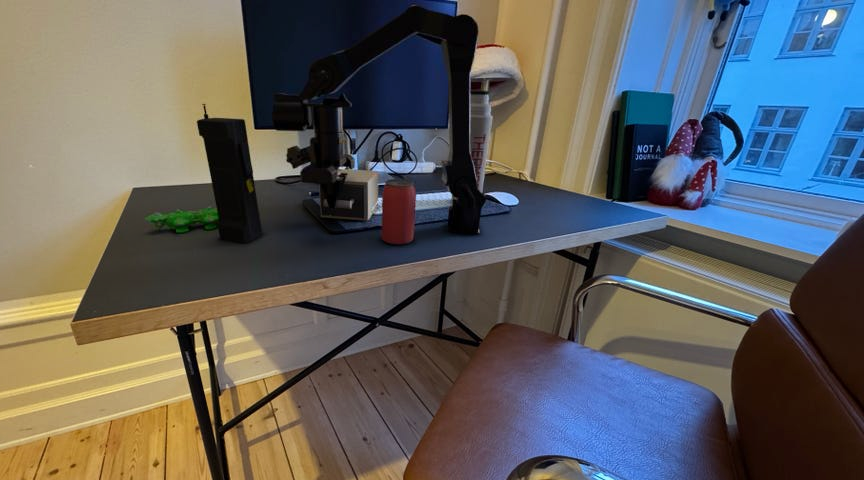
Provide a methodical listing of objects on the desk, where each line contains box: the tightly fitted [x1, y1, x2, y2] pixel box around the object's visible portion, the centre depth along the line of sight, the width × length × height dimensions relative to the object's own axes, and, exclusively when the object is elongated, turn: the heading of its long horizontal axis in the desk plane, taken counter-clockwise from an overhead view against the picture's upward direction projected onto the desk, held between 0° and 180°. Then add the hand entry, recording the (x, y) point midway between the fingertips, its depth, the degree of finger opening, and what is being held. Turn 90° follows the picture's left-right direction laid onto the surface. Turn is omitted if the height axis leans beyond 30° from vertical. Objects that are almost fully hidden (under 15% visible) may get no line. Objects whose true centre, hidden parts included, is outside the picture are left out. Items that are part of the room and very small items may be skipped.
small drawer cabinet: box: [318, 168, 379, 222], centre depth 91 cm, size 13×12×9 cm
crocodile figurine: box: [144, 205, 219, 234], centre depth 79 cm, size 7×18×4 cm, turn 115°
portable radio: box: [196, 103, 264, 244], centre depth 70 cm, size 8×6×25 cm
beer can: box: [381, 178, 417, 246], centre depth 73 cm, size 7×7×12 cm
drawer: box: [319, 184, 365, 218], centre depth 87 cm, size 16×10×7 cm, turn 170°
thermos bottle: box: [451, 89, 494, 201], centre depth 95 cm, size 8×8×28 cm
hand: (331, 207), depth 80 cm, fingers closed
